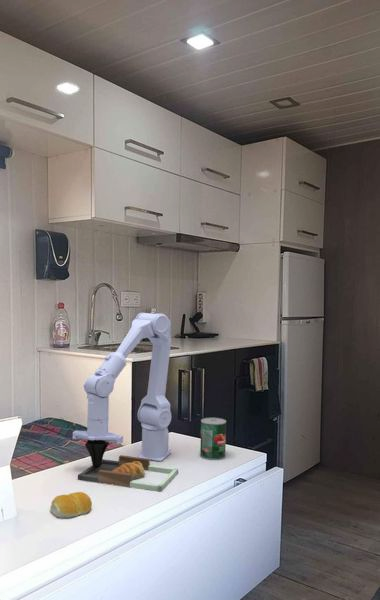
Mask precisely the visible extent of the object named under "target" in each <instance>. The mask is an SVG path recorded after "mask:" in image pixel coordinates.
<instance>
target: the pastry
mask: <svg viewBox="0 0 380 600" xmlns="http://www.w3.org/2000/svg"><path fill="white" fill-rule="evenodd" d="M112 471H114V472H121V473H129V474H132V481H135V480H138V479H142V478H144V477H145V475H146V470H144V468H143V466H142V464H141V463H140V462H139V461H134V462H132V463H124V464H122V465H121V466H120V467H118V468H115V469H114V470H112Z"/></svg>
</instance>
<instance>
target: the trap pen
mask: <svg viewBox="0 0 380 600" xmlns="http://www.w3.org/2000/svg"><path fill="white" fill-rule="evenodd" d="M118 467H119V460H111V459H103V458H102V462H101V466H100V467H99V468H93V464H92V465H91V466H90V467H88V468H86V469H85V470H83V471H82V472H80V473H78V474H77V480H78V481H84V482H89V483H90V482H91V483H97V484H98V471H99V470H106V471H112V470H114V469H115V468H118Z"/></svg>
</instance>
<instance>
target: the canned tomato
mask: <svg viewBox="0 0 380 600" xmlns="http://www.w3.org/2000/svg"><path fill="white" fill-rule="evenodd" d="M226 434H227V420H226V419H224V418H219V417H204V418H201V420H200V449H199V451H200V452H199V456H200V458H201V459H205V460H208V461H209V460H210V461H219V460H223V459H225V458H226V451H227V450H226V442H227V440H226V439H227V435H226Z"/></svg>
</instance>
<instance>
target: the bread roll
mask: <svg viewBox="0 0 380 600" xmlns="http://www.w3.org/2000/svg"><path fill="white" fill-rule="evenodd" d="M92 505H93V503H92V500H91V497H90V496H89V495H88V494H87V493H85V492H84V491H77V492H71V493H70V492H69V493H68V494H60V495H56V497H54V498H53V500H51V505H50V509H49V510H50V512H51V514H52V515H53V516H54V517H56V518H60V519H70V518H75V517H79V516H83V515H85V514H88V513H89V512H91V511H90V510H91V509H92Z"/></svg>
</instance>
